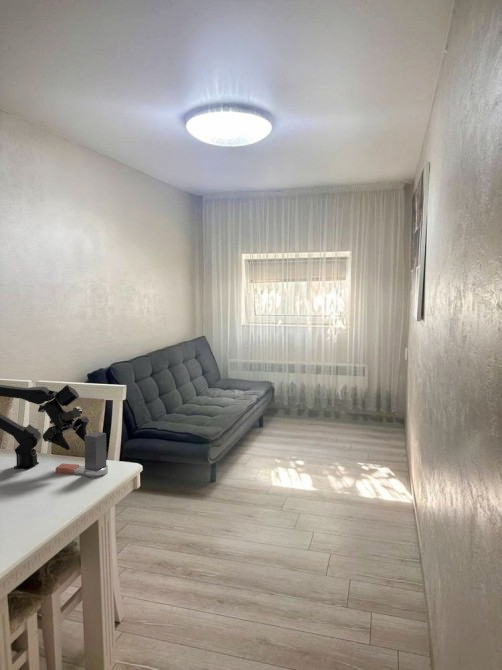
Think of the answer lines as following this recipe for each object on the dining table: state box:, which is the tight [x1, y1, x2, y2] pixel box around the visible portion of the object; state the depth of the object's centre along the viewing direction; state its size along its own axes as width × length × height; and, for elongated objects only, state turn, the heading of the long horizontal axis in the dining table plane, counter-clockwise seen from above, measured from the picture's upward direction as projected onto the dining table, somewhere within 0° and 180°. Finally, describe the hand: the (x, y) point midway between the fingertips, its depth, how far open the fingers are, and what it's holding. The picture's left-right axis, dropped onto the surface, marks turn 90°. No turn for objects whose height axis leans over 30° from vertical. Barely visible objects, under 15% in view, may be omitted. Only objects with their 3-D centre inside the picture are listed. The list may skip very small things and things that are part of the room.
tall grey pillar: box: [84, 431, 107, 472], centre depth 164 cm, size 5×5×13 cm
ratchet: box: [55, 462, 109, 479], centre depth 165 cm, size 19×8×4 cm, turn 82°
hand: (78, 445), depth 167 cm, fingers open, 9 cm apart
